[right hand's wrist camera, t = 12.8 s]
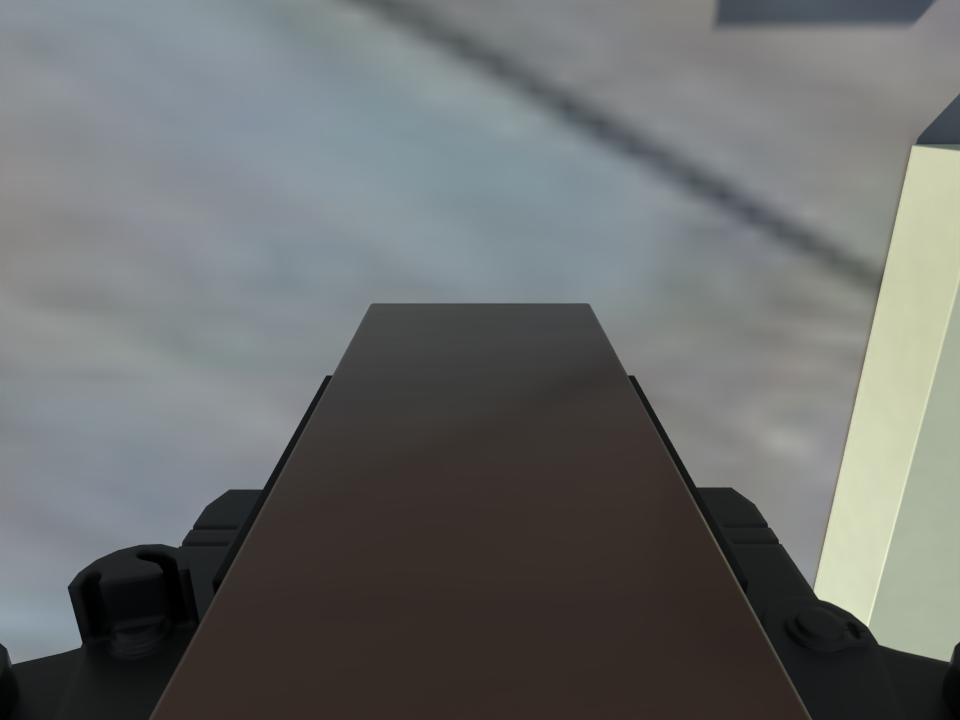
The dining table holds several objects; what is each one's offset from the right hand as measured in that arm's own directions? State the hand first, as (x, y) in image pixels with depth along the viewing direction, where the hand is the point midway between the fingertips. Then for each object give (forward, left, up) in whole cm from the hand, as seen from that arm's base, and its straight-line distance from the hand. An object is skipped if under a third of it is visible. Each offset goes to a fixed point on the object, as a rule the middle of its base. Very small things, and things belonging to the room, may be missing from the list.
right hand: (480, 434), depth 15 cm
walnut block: (0, 0, -2) cm, 2 cm away
